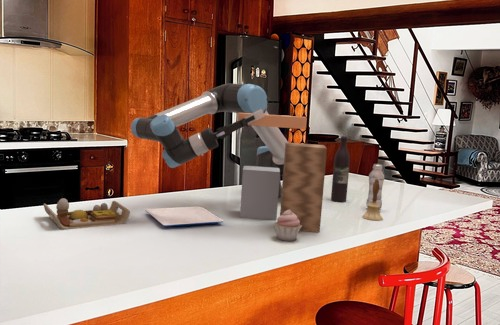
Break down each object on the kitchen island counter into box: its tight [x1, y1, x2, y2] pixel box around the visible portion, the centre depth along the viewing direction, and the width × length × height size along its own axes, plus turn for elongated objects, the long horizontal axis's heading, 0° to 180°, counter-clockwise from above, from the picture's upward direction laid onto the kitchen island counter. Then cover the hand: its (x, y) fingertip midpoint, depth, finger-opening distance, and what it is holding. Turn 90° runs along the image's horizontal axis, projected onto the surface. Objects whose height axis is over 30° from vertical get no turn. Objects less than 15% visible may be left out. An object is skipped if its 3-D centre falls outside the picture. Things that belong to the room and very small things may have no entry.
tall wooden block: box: [279, 142, 328, 233], centre depth 183 cm, size 14×10×30 cm
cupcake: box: [273, 210, 302, 242], centre depth 169 cm, size 9×9×10 cm
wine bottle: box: [330, 135, 351, 203], centre depth 234 cm, size 7×7×30 cm
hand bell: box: [362, 179, 384, 221], centre depth 205 cm, size 8×8×16 cm
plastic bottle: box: [365, 163, 385, 210], centre depth 221 cm, size 6×7×20 cm
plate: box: [145, 206, 225, 227], centre depth 185 cm, size 22×22×2 cm
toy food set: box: [43, 197, 131, 231], centre depth 176 cm, size 25×18×8 cm
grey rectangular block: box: [239, 165, 281, 221], centre depth 197 cm, size 14×10×18 cm
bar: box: [237, 113, 308, 130], centre depth 180 cm, size 24×4×4 cm, turn 89°
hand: (263, 112), depth 180 cm, fingers closed on bar, 4 cm apart
